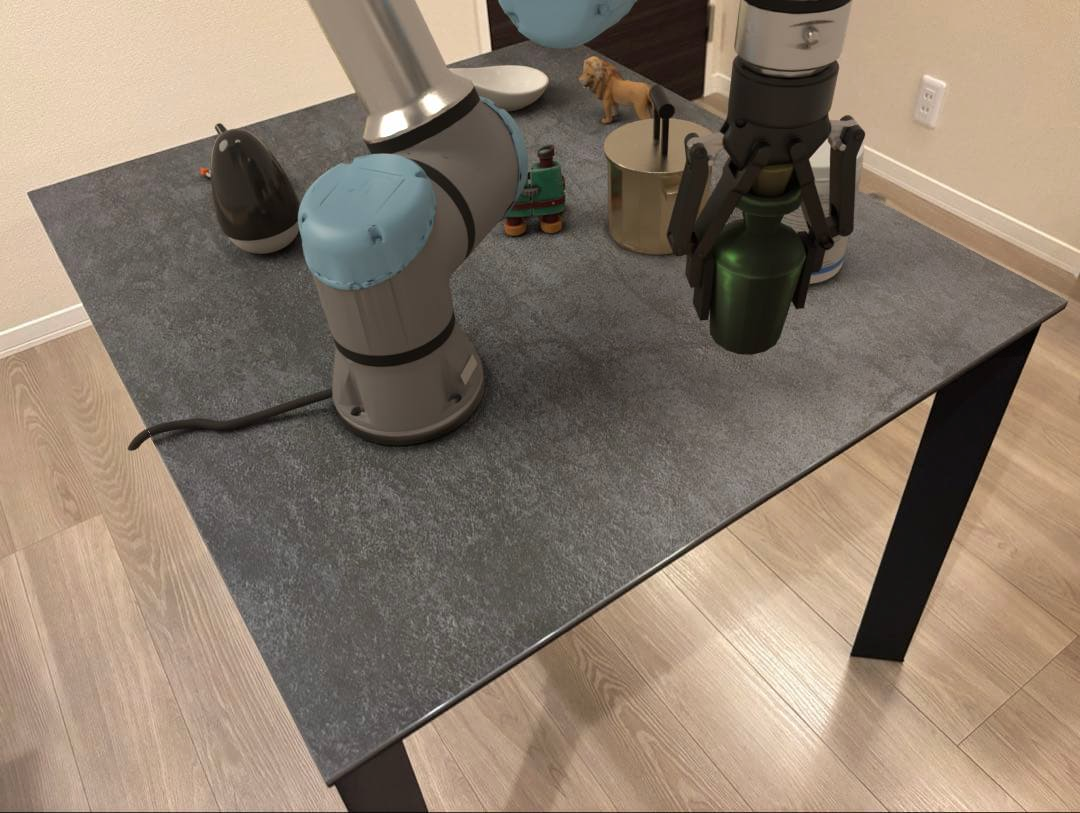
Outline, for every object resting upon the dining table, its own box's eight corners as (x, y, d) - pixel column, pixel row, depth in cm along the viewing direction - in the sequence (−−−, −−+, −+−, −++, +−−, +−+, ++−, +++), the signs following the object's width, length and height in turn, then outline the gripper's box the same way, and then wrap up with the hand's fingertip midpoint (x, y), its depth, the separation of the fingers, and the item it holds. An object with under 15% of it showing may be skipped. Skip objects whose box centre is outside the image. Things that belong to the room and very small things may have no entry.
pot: (623, 273, 96) (623, 193, 89) (597, 197, 109) (596, 121, 101) (724, 260, 97) (732, 179, 89) (687, 185, 109) (692, 109, 102)
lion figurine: (575, 121, 124) (572, 61, 118) (594, 107, 127) (592, 48, 121) (661, 142, 118) (663, 80, 112) (679, 126, 121) (682, 65, 114)
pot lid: (615, 189, 91) (614, 128, 86) (595, 134, 100) (593, 76, 95) (730, 174, 91) (737, 112, 86) (700, 121, 101) (704, 63, 96)
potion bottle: (710, 366, 75) (732, 190, 62) (692, 310, 81) (709, 139, 68) (799, 358, 75) (839, 181, 62) (775, 303, 81) (807, 130, 68)
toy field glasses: (561, 122, 103) (565, 153, 96) (565, 201, 110) (569, 235, 102) (489, 128, 104) (488, 159, 96) (498, 206, 110) (497, 241, 102)
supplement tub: (859, 266, 94) (888, 146, 84) (799, 299, 91) (822, 178, 80) (796, 230, 100) (816, 114, 90) (737, 259, 97) (751, 142, 86)
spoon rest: (531, 80, 136) (528, 35, 131) (562, 107, 128) (559, 61, 123) (394, 116, 130) (385, 70, 125) (417, 147, 122) (408, 100, 117)
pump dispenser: (289, 211, 112) (254, 102, 101) (323, 243, 105) (289, 131, 95) (218, 239, 108) (173, 130, 97) (248, 275, 102) (204, 162, 91)
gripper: (654, 94, 56) (643, 345, 73) (951, 62, 57) (875, 317, 74) (632, 51, 62) (627, 294, 78) (905, 22, 63) (843, 268, 79)
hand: (747, 305), depth 76 cm, fingers closed on potion bottle, 8 cm apart
